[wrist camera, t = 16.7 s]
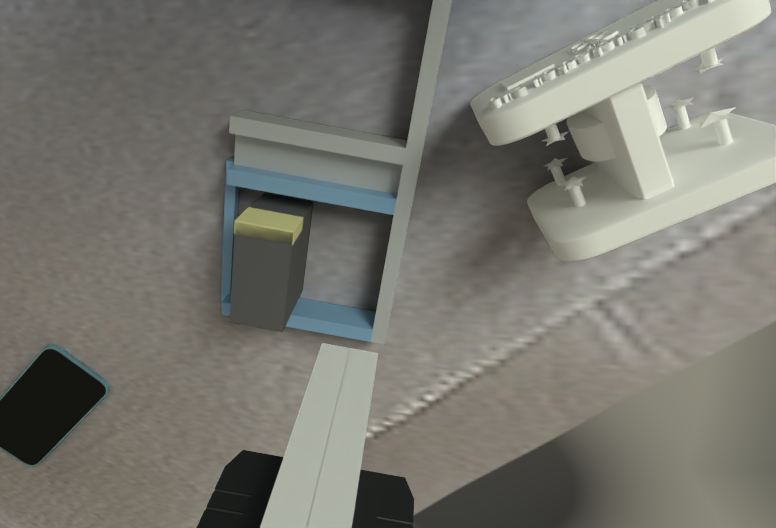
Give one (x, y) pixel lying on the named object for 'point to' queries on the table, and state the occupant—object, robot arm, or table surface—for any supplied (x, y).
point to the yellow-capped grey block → (269, 261)
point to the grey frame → (336, 185)
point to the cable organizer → (633, 127)
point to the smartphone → (47, 404)
